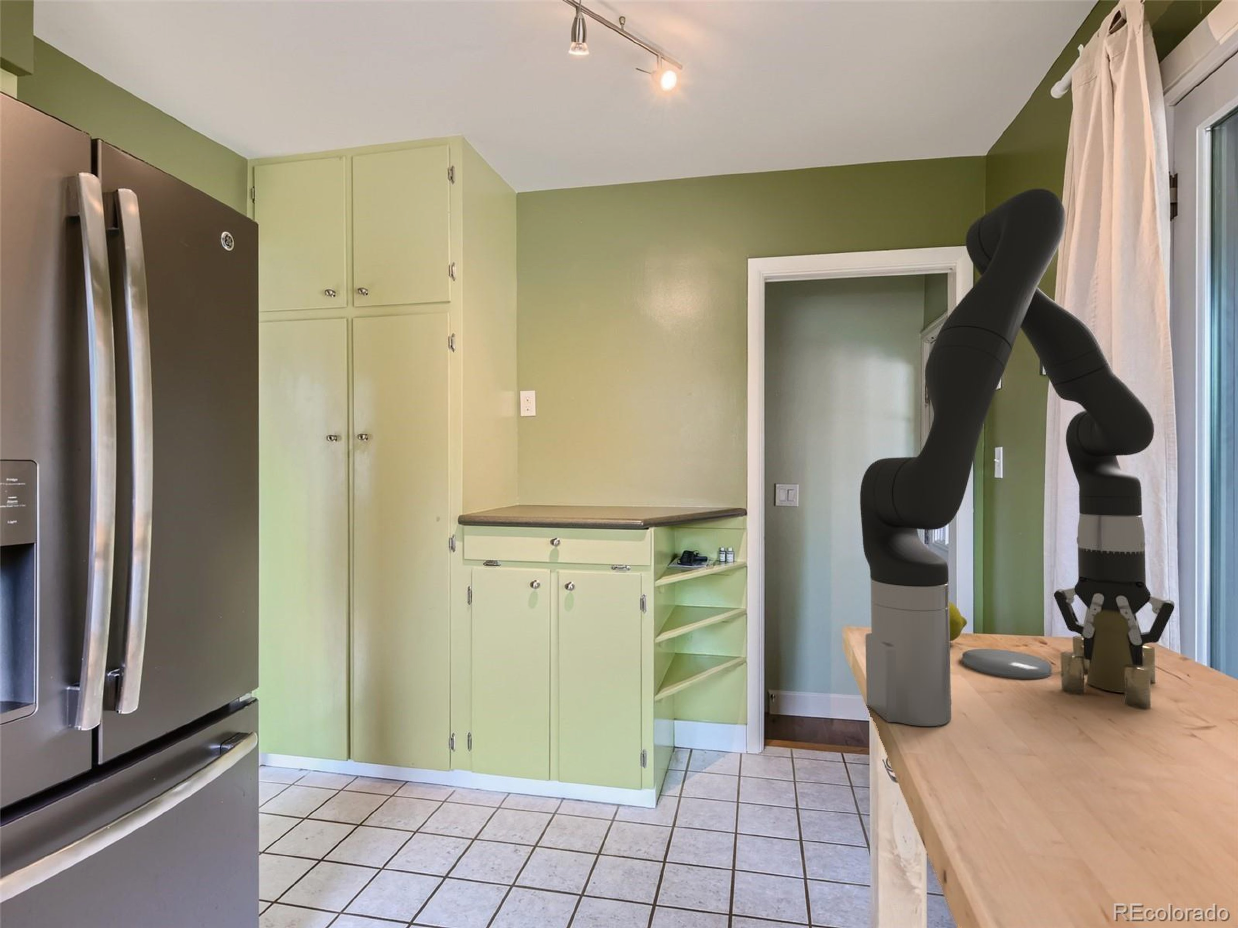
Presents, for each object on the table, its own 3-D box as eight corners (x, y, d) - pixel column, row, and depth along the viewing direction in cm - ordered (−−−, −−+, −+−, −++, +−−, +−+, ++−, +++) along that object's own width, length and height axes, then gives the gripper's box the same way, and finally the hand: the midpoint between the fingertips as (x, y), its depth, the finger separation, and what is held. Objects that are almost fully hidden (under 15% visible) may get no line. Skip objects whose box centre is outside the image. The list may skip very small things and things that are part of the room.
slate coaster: (992, 679, 91) (992, 673, 91) (947, 655, 103) (947, 649, 103) (1071, 677, 91) (1071, 671, 91) (1017, 653, 103) (1016, 647, 103)
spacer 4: (1142, 683, 89) (1142, 648, 89) (1127, 677, 91) (1126, 643, 91) (1160, 682, 89) (1159, 648, 89) (1144, 676, 91) (1143, 643, 91)
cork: (1151, 694, 84) (1149, 613, 84) (1101, 691, 85) (1099, 611, 85) (1124, 679, 90) (1122, 604, 90) (1077, 676, 91) (1076, 602, 91)
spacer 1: (1071, 694, 85) (1070, 658, 85) (1057, 688, 87) (1056, 653, 87) (1089, 694, 85) (1088, 658, 85) (1074, 687, 87) (1074, 652, 87)
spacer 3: (1136, 709, 79) (1135, 670, 79) (1119, 701, 82) (1118, 664, 82) (1156, 708, 79) (1155, 670, 79) (1138, 701, 82) (1137, 663, 82)
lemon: (967, 640, 112) (966, 596, 112) (967, 651, 105) (966, 605, 105) (902, 633, 117) (901, 591, 117) (898, 643, 110) (897, 599, 110)
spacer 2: (1082, 673, 93) (1081, 640, 93) (1069, 668, 96) (1068, 636, 96) (1098, 673, 93) (1098, 640, 93) (1085, 667, 96) (1084, 635, 96)
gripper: (1178, 547, 85) (1180, 670, 85) (1054, 540, 95) (1056, 650, 95) (1177, 553, 80) (1179, 684, 80) (1046, 544, 90) (1048, 662, 89)
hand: (1112, 665), depth 87 cm, fingers closed on cork, 4 cm apart
